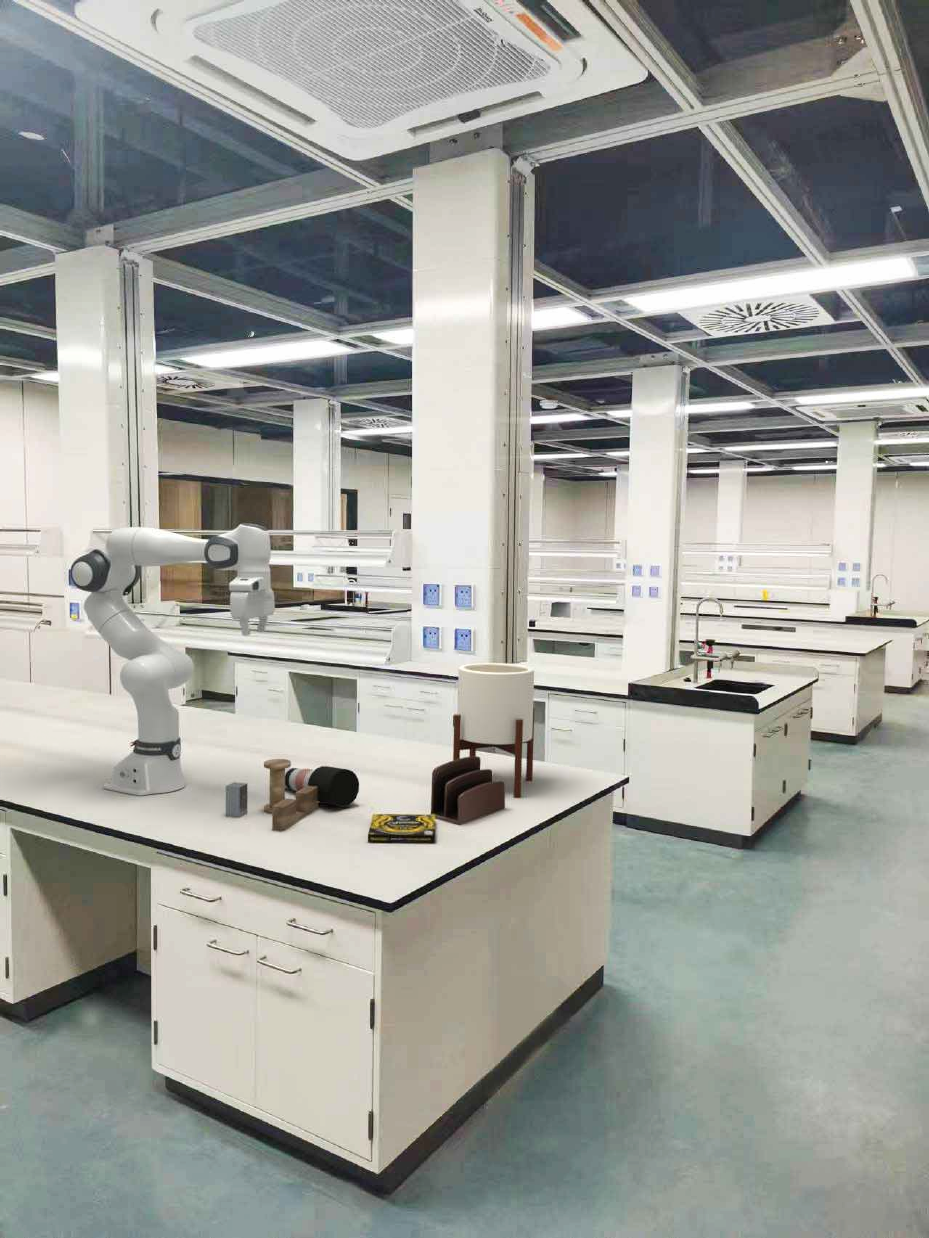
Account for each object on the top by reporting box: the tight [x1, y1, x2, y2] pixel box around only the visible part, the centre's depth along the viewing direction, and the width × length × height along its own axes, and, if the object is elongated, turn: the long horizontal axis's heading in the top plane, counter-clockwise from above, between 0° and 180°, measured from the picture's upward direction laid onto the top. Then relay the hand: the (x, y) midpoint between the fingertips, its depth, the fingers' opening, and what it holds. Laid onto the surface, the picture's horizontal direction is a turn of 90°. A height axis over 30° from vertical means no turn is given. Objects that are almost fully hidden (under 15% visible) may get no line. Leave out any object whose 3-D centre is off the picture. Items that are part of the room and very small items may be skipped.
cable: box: [285, 765, 360, 808], centre depth 238 cm, size 10×34×10 cm, turn 44°
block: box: [225, 781, 248, 819], centre depth 220 cm, size 4×4×8 cm
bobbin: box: [263, 758, 292, 815], centre depth 224 cm, size 7×7×13 cm
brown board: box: [271, 786, 319, 832], centre depth 217 cm, size 3×20×6 cm, turn 164°
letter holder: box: [430, 755, 506, 826], centre depth 226 cm, size 10×20×14 cm, turn 140°
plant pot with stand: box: [452, 662, 535, 799], centre depth 252 cm, size 22×22×36 cm
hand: (253, 633), depth 231 cm, fingers open, 8 cm apart
